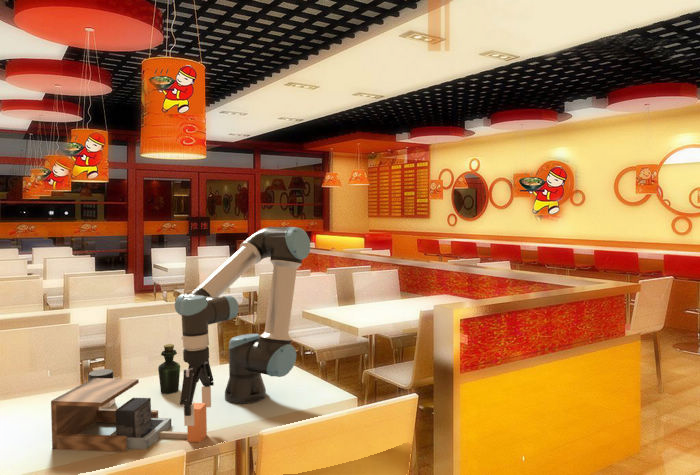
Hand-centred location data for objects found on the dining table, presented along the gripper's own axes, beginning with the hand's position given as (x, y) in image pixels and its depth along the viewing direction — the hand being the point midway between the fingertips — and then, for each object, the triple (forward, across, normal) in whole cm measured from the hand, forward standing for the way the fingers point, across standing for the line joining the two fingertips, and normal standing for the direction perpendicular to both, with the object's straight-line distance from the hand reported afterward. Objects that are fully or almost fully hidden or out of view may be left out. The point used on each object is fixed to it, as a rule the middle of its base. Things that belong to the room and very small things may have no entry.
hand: (198, 415), depth 155 cm
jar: (+7, -23, -45) cm, 51 cm away
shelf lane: (+6, +1, -29) cm, 30 cm away
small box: (+7, +1, -20) cm, 21 cm away
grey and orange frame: (+7, +1, -12) cm, 13 cm away
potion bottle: (+8, -39, -27) cm, 48 cm away
